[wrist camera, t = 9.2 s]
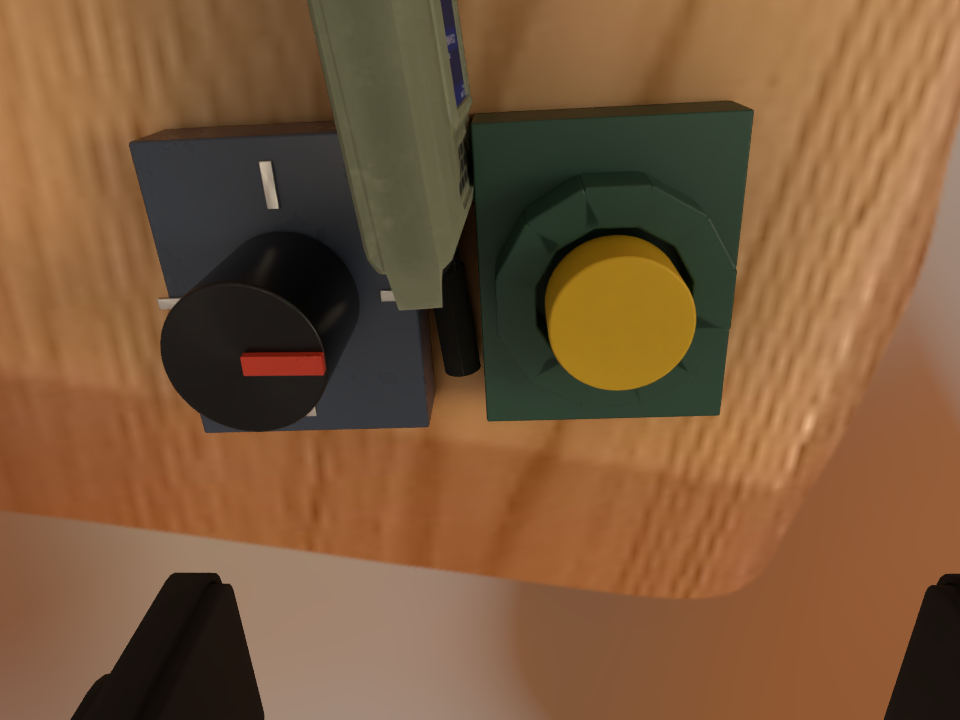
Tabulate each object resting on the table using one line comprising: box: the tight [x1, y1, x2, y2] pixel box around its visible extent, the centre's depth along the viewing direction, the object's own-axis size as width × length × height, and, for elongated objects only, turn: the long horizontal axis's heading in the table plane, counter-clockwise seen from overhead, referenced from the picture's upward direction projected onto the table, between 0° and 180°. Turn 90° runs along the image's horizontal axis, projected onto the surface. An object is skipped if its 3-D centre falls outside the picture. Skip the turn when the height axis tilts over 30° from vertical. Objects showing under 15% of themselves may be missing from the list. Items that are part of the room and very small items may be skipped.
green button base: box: [471, 101, 754, 421], centre depth 22 cm, size 10×8×4 cm
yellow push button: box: [545, 235, 696, 391], centre depth 20 cm, size 4×4×2 cm
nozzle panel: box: [129, 121, 435, 433], centre depth 24 cm, size 10×9×3 cm
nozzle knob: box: [160, 232, 359, 432], centre depth 20 cm, size 4×4×5 cm
